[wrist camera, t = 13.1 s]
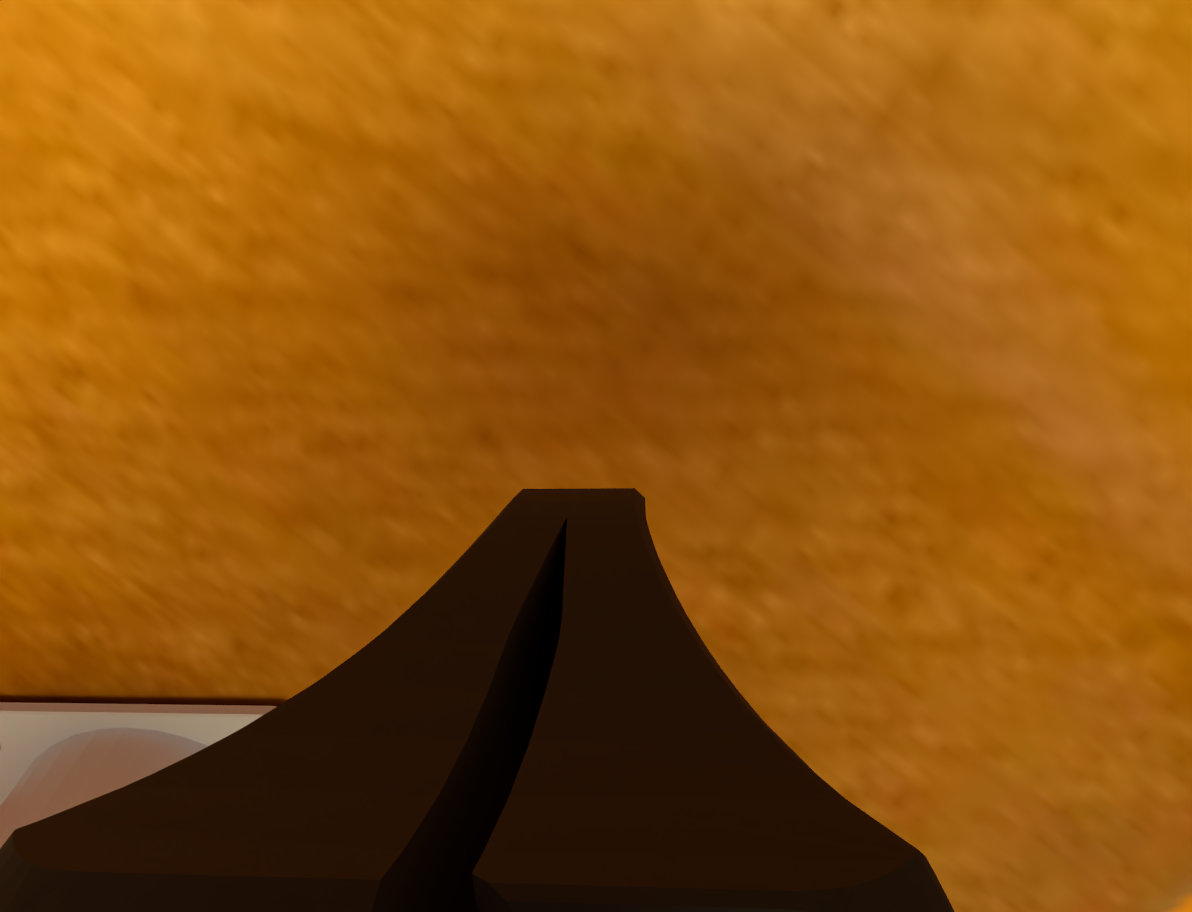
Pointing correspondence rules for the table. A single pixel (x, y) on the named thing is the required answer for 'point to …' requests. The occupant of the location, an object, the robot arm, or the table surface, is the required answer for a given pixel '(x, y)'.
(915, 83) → the table surface
